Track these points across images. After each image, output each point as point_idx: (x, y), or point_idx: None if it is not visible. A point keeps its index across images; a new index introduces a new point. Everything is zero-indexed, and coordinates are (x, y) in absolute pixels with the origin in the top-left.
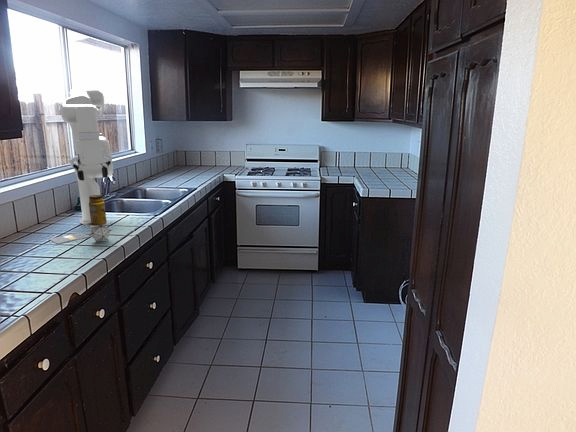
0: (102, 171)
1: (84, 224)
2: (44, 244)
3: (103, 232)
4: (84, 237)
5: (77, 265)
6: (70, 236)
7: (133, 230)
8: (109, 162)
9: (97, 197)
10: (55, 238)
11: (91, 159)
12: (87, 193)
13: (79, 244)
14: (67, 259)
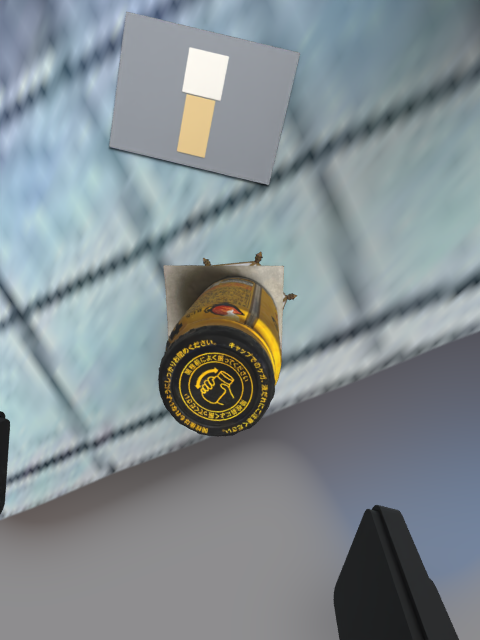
0: (387, 615)
1: (171, 273)
2: (74, 85)
3: None
4: (239, 173)
5: (26, 451)
6: (213, 84)
7: (453, 283)
8: None
9: (195, 430)
10: (152, 38)
11: None
12: None
13: (164, 246)
14: (34, 373)
